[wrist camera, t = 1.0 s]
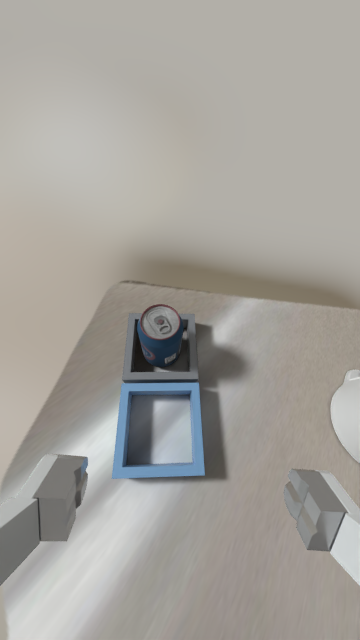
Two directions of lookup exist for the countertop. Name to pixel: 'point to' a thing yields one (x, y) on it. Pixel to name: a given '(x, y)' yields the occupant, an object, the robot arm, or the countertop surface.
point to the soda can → (160, 334)
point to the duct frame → (158, 386)
